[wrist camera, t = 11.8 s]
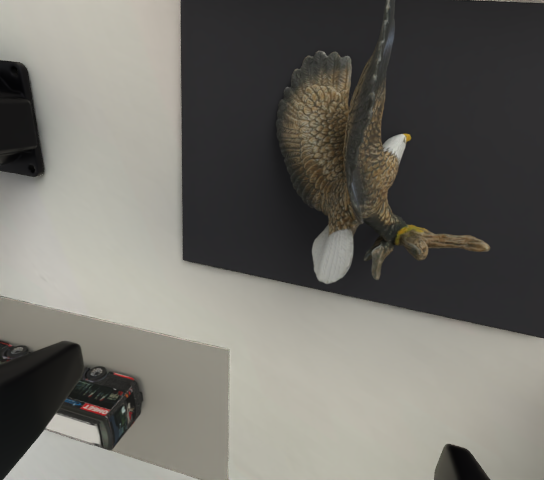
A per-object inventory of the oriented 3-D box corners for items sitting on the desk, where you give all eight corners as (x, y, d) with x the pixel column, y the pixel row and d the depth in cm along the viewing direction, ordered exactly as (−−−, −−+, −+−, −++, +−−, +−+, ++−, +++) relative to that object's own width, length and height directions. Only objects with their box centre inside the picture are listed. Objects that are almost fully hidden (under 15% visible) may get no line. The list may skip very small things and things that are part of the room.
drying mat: (185, 257, 22) (182, 260, 21) (184, -9, 16) (180, -12, 16) (543, 334, 18) (546, 339, 17) (701, 12, 12) (711, 9, 12)
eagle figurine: (519, 187, 14) (439, -46, 11) (463, 318, 11) (322, 32, 8) (366, 209, 20) (286, 63, 17) (298, 297, 17) (181, 135, 14)
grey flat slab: (-51, 284, 29) (-114, 312, 25) (229, 349, 24) (201, 397, 20) (-7, 411, 35) (-54, 449, 31) (227, 488, 29) (206, 545, 25)
